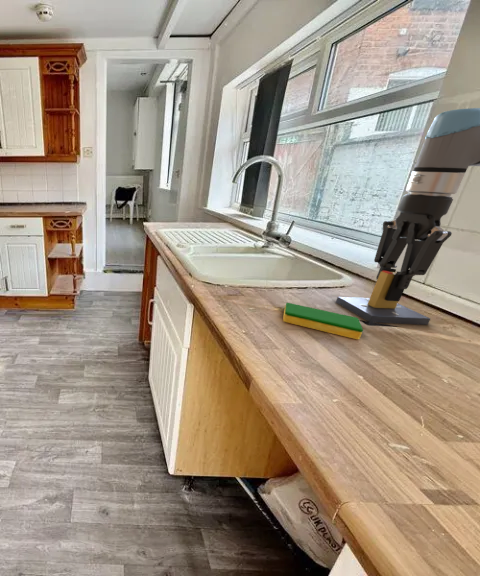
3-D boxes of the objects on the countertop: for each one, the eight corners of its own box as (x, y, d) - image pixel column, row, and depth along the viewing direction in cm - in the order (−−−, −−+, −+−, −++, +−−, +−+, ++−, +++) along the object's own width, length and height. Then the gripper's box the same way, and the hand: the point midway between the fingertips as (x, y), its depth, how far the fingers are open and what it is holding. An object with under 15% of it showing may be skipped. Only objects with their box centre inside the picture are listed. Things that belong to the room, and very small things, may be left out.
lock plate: (384, 307, 79) (388, 298, 78) (426, 328, 69) (431, 317, 68) (334, 305, 80) (337, 295, 79) (368, 325, 69) (372, 315, 68)
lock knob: (388, 305, 74) (402, 271, 71) (395, 308, 72) (410, 274, 69) (367, 304, 74) (380, 270, 71) (374, 307, 73) (388, 273, 69)
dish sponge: (283, 310, 75) (286, 301, 74) (354, 327, 68) (358, 317, 68) (282, 321, 69) (285, 312, 68) (359, 340, 63) (363, 330, 62)
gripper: (378, 190, 71) (344, 284, 80) (450, 197, 56) (399, 311, 65) (410, 192, 71) (373, 285, 80) (491, 198, 56) (434, 312, 65)
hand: (385, 297), depth 73 cm, fingers open, 3 cm apart
